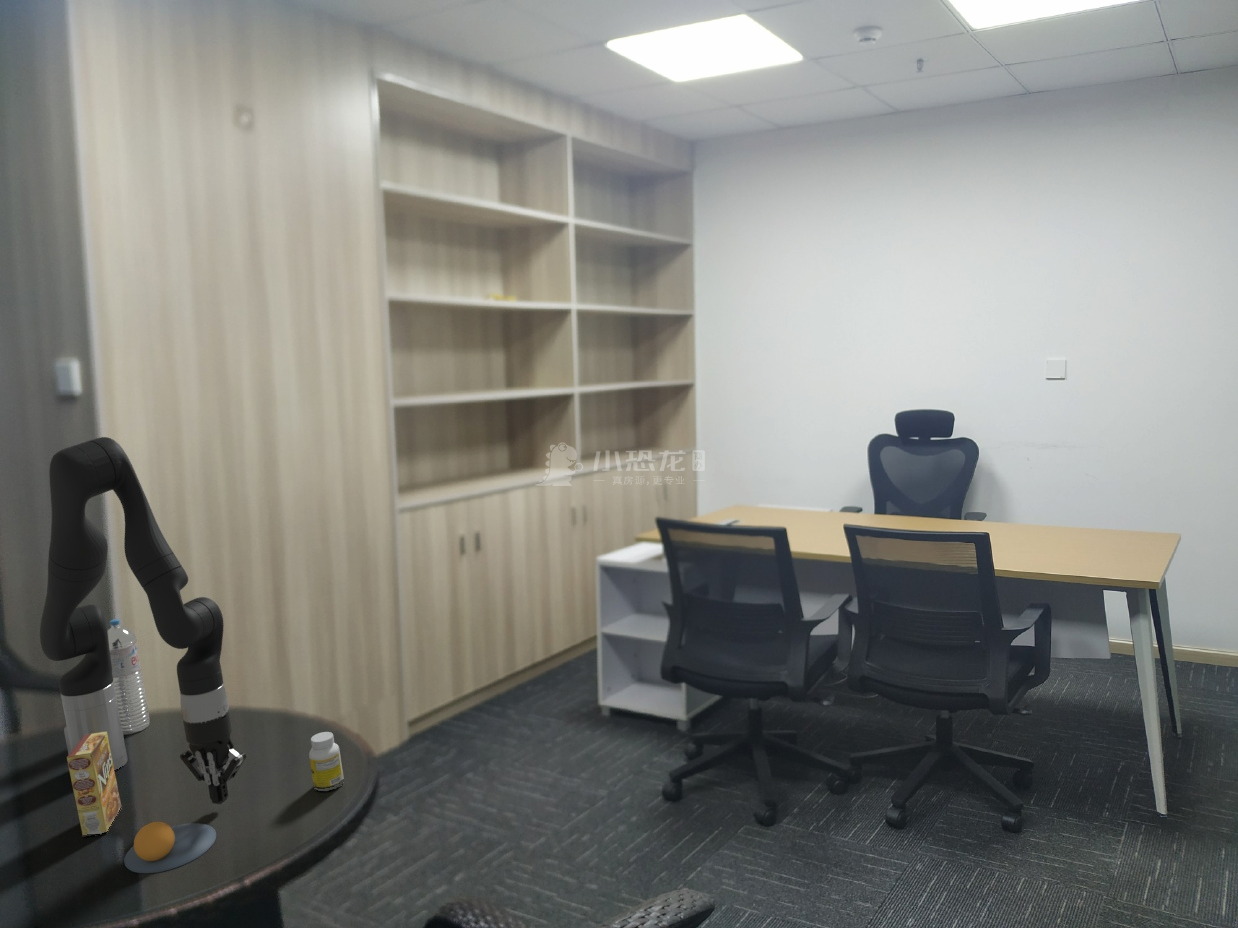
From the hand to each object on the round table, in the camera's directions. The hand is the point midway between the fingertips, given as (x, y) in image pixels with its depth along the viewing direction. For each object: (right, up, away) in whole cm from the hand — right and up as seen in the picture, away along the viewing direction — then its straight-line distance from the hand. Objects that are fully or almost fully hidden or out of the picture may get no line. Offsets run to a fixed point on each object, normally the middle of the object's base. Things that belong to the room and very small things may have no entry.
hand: (220, 801), depth 165 cm
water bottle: (-35, +2, +37) cm, 52 cm away
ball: (-5, -1, -14) cm, 15 cm away
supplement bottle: (+18, +1, +6) cm, 19 cm away
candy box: (-20, -4, -1) cm, 21 cm away
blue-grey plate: (-3, -4, -11) cm, 12 cm away
